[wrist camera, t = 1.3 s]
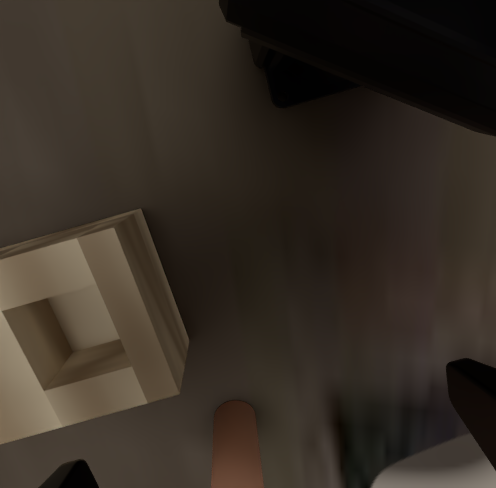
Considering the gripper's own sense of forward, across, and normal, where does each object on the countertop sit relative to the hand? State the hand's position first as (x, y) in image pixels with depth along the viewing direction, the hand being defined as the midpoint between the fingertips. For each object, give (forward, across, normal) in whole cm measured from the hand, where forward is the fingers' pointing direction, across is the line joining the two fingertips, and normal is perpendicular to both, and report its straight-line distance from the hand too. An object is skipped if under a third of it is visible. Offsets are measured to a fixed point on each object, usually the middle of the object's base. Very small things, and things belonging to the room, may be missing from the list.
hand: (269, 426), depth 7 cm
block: (+12, +9, 0) cm, 15 cm away
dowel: (+12, +3, +10) cm, 16 cm away
